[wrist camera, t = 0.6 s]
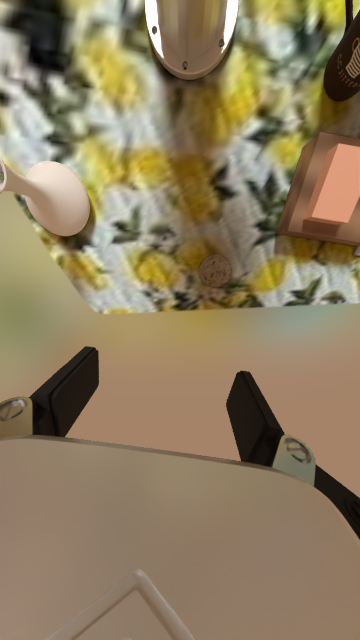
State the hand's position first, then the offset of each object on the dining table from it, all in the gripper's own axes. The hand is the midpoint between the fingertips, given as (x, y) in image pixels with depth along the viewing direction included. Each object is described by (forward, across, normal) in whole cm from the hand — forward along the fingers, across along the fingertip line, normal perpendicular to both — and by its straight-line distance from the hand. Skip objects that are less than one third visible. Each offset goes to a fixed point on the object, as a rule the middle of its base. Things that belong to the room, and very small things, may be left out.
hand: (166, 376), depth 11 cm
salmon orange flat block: (+24, -22, -21) cm, 39 cm away
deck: (+28, -25, -21) cm, 43 cm away
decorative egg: (+28, -6, -6) cm, 30 cm away
